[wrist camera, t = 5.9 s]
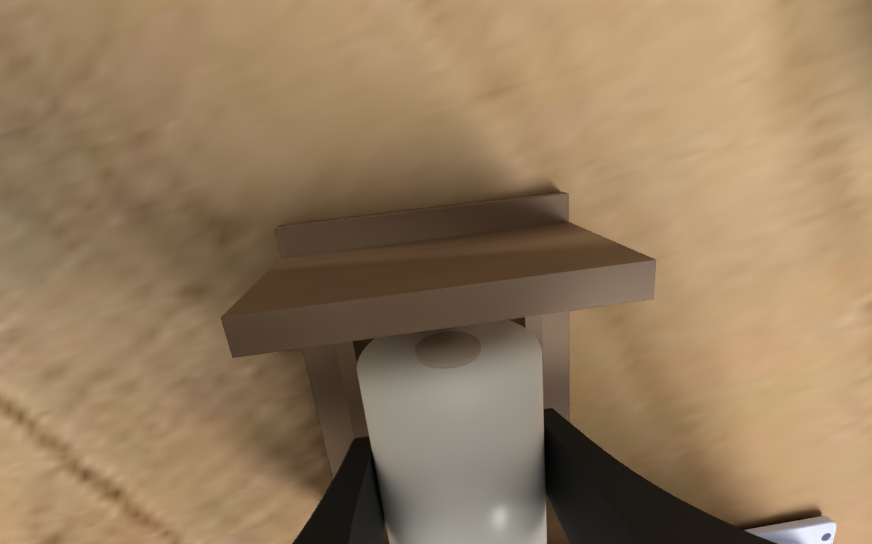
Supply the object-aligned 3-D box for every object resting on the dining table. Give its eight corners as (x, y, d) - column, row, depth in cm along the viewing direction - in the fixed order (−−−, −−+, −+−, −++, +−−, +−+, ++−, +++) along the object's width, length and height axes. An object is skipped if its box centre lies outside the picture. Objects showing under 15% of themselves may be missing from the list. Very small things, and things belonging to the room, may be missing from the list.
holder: (564, 494, 19) (631, 632, 13) (349, 530, 18) (330, 689, 13) (561, 191, 14) (658, 217, 9) (279, 225, 14) (208, 274, 9)
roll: (523, 473, 16) (572, 616, 11) (395, 490, 16) (389, 643, 11) (514, 301, 13) (572, 386, 9) (366, 319, 13) (341, 416, 9)
